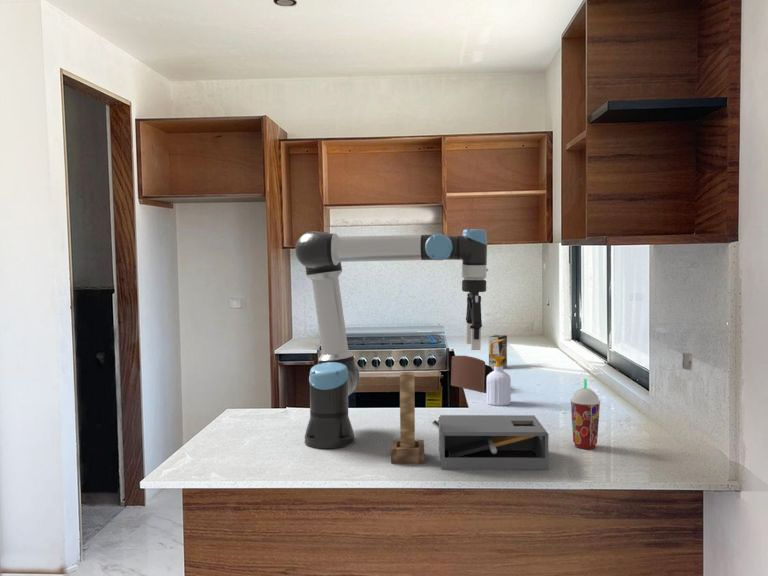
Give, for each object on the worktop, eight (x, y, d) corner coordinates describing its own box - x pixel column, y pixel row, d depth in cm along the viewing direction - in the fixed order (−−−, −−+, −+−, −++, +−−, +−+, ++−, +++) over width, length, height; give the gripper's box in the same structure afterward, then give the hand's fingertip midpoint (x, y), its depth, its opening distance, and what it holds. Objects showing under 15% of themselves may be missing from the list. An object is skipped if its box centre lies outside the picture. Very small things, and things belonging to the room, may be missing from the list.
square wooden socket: (391, 463, 177) (391, 449, 177) (392, 453, 186) (392, 439, 186) (424, 463, 177) (424, 449, 177) (423, 453, 186) (423, 439, 186)
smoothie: (605, 449, 188) (606, 380, 187) (580, 452, 186) (581, 382, 185) (589, 441, 196) (589, 375, 195) (564, 444, 194) (565, 377, 193)
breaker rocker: (451, 465, 173) (448, 456, 173) (448, 448, 188) (445, 440, 188) (538, 442, 172) (536, 433, 172) (528, 427, 187) (526, 419, 187)
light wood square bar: (400, 460, 180) (399, 374, 178) (400, 456, 184) (400, 371, 182) (415, 460, 179) (414, 374, 178) (414, 456, 183) (414, 371, 182)
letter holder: (484, 393, 267) (484, 359, 266) (450, 386, 283) (450, 353, 282) (500, 390, 273) (500, 356, 272) (466, 383, 289) (466, 351, 288)
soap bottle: (508, 406, 242) (508, 341, 241) (484, 405, 245) (484, 340, 244) (512, 401, 251) (512, 338, 249) (488, 400, 254) (488, 337, 252)
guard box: (441, 469, 172) (441, 431, 172) (438, 449, 190) (438, 415, 190) (548, 469, 171) (548, 432, 170) (535, 449, 189) (535, 415, 188)
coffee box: (500, 369, 321) (500, 337, 320) (488, 368, 324) (488, 336, 323) (507, 366, 328) (507, 335, 327) (495, 365, 332) (495, 334, 331)
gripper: (492, 280, 190) (490, 352, 191) (481, 277, 215) (480, 341, 216) (466, 280, 190) (465, 352, 191) (458, 277, 215) (457, 341, 216)
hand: (473, 346), depth 204 cm, fingers open, 13 cm apart
